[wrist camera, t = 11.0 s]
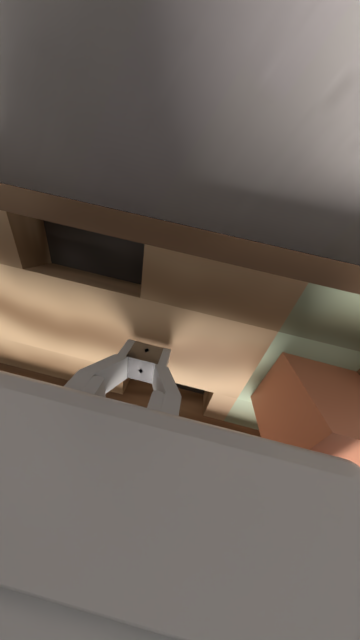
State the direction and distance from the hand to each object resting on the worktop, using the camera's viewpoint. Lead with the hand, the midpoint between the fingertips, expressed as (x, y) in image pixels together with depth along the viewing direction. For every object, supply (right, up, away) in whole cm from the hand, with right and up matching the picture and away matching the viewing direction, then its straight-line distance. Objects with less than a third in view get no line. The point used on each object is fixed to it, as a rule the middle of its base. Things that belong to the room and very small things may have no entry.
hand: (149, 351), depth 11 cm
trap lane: (-2, +2, +3) cm, 4 cm away
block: (+11, -3, +1) cm, 11 cm away
